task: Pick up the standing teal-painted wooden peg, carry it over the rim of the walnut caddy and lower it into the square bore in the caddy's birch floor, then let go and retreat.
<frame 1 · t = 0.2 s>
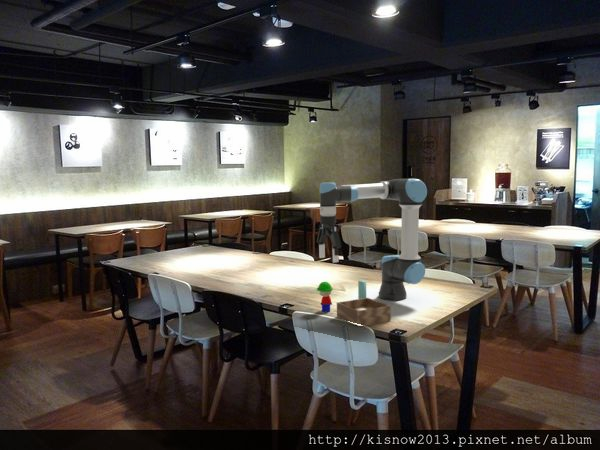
hand: (328, 260, 234), 27 cm above the table, fingers open, 13 cm apart
caddy: (363, 318, 232), on the table
toy: (325, 311, 246), on the table
peg: (362, 308, 250), on the table
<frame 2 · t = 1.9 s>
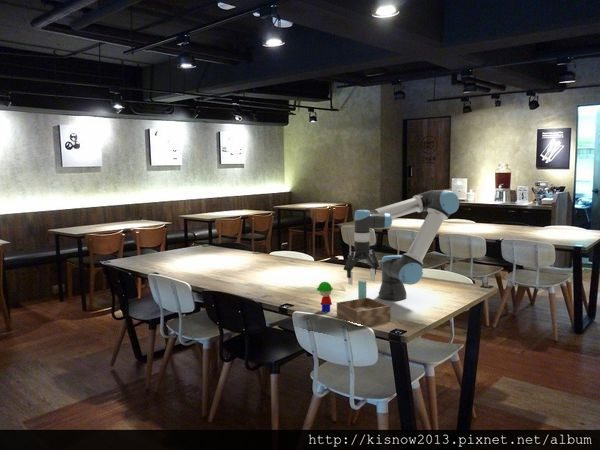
hand: (361, 282, 249), 13 cm above the table, fingers open, 13 cm apart
nothing on the table moved.
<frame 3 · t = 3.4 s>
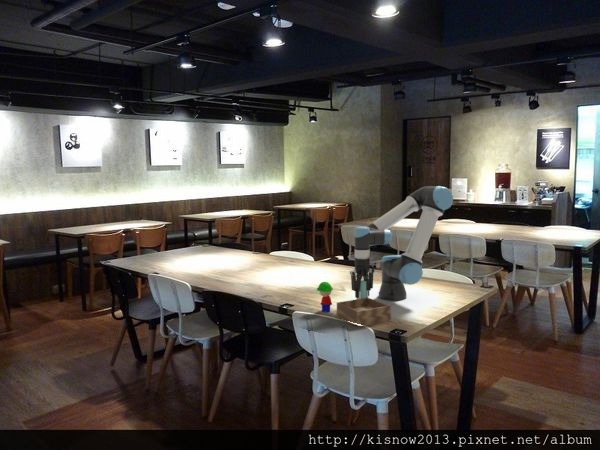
hand: (362, 303, 250), 3 cm above the table, fingers closed on peg, 4 cm apart
peg: (362, 308, 250), on the table, touching gripper
everything else where it was.
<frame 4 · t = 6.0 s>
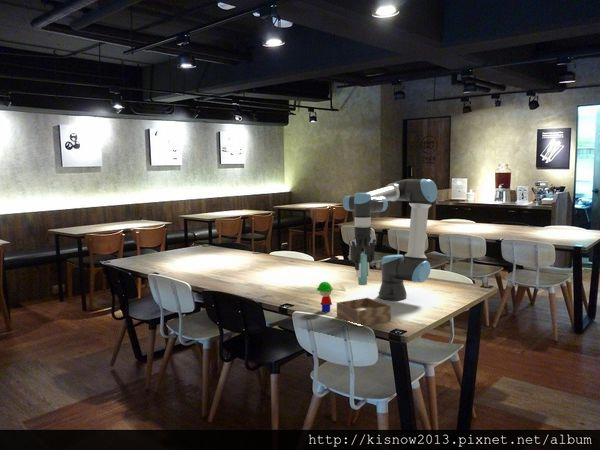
hand: (362, 276, 230), 20 cm above the table, fingers closed on peg, 4 cm apart
peg: (362, 284, 231), point 17 cm above the table, touching gripper
everything else where it was.
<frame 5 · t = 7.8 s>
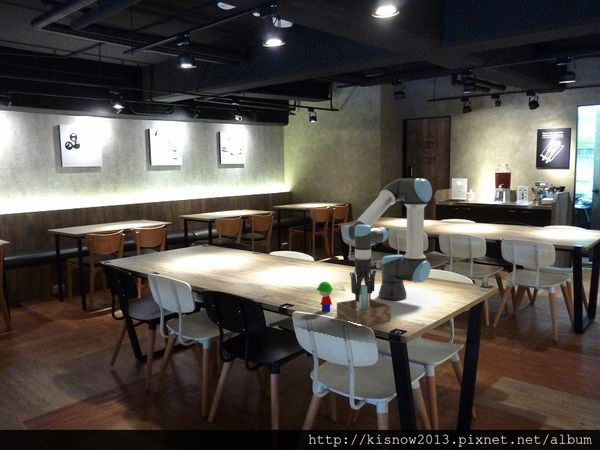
hand: (363, 307, 232), 6 cm above the table, fingers closed on peg, 4 cm apart
peg: (363, 315, 232), point 2 cm above the table, touching gripper
everything else where it was.
when the fingers open (4 cm above the table, at t = 8.9 s): peg stays where it is, resting in caddy.
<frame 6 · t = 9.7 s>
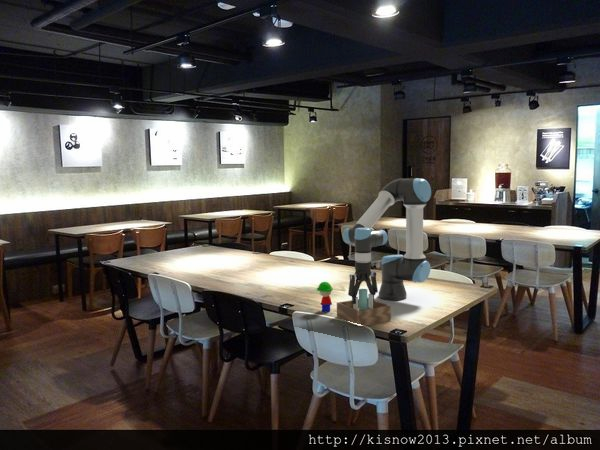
hand: (363, 309, 232), 5 cm above the table, fingers open, 8 cm apart
peg: (363, 318, 232), resting in caddy
everything else where it was.
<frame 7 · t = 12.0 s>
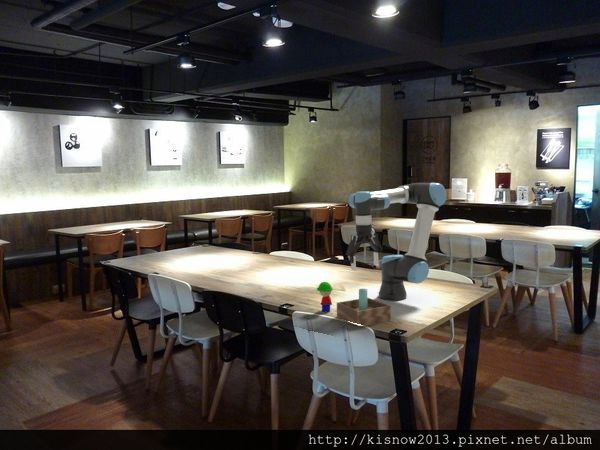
hand: (365, 267, 238), 23 cm above the table, fingers open, 13 cm apart
nothing on the table moved.
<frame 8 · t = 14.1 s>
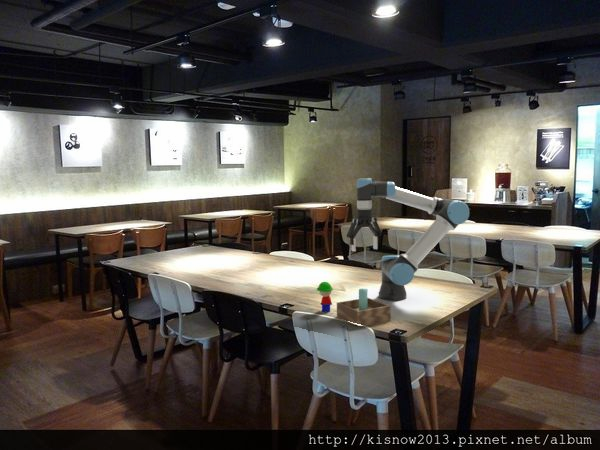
hand: (364, 250, 254), 29 cm above the table, fingers open, 13 cm apart
nothing on the table moved.
at the end: peg 0.1 cm off-centre on the caddy, point 0.0 cm above the caddy's base; peg tilted 0°; the gripper is holding nothing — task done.
